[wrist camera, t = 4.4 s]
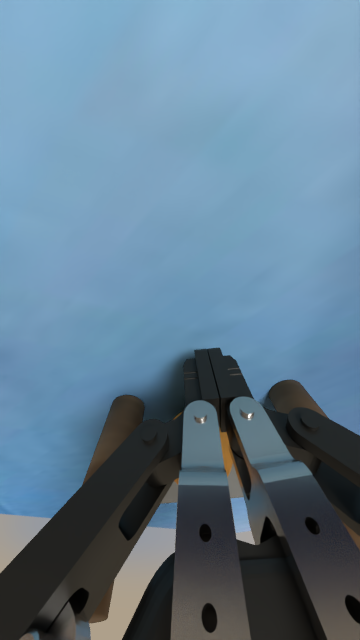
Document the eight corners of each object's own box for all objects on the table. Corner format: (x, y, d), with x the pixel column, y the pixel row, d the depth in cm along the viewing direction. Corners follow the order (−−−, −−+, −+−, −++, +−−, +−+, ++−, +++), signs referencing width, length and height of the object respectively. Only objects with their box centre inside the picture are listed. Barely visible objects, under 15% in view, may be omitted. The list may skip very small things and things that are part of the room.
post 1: (141, 393, 14) (94, 609, 6) (147, 415, 15) (115, 621, 7) (108, 396, 14) (20, 613, 6) (116, 418, 15) (52, 625, 7)
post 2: (305, 378, 14) (487, 586, 6) (299, 402, 15) (443, 603, 7) (270, 381, 14) (402, 591, 6) (267, 405, 15) (372, 607, 7)
